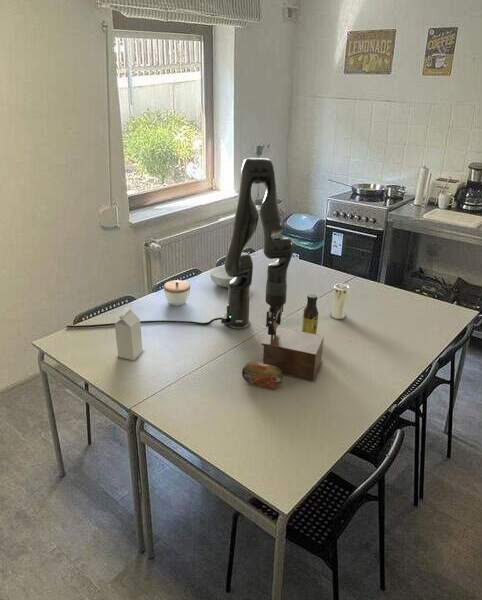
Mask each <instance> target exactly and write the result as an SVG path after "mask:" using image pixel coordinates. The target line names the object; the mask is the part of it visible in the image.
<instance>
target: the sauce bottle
mask: <svg viewBox="0 0 482 600" xmlns="http://www.w3.org/2000/svg"><path fill="white" fill-rule="evenodd" d="M306 299H307V303H306V306H305V307H304V309H303V314H302V315H303V316H302V324H301V332H305V333H311V334H316V335H318V334H317V332H318V323H319V311H318V307H317V301H318V295H317V294H315V293H309V294H307V296H306Z"/></svg>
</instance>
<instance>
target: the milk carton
mask: <svg viewBox="0 0 482 600" xmlns="http://www.w3.org/2000/svg"><path fill="white" fill-rule="evenodd" d="M118 318H119V320H117V321H116V322H114V323H115V325H114V330H115V331H114V332H115V341H116V349H117V357H118V358H121V359H125V360H131V361H135V360H136V359H137V358H138V357H139V356H140V355H141V354H142V352H143V341H142V327H141V323H140V321H141V319H140V317H138V315H137V314H136V313H134V311H132V308H129V309H128V310H127V311H126V312H125V313H121V314H120V315H119V316H118Z"/></svg>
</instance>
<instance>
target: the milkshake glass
mask: <svg viewBox="0 0 482 600" xmlns="http://www.w3.org/2000/svg"><path fill="white" fill-rule="evenodd" d="M349 296H350V286H349V285H347V284H345V283H336V284H335V285H333V291H332V311H331V317H332V318H333V319H337V320H343V319H345V317H346V312H345V311H346V306H347V304H348V300H349Z"/></svg>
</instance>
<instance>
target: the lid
mask: <svg viewBox="0 0 482 600" xmlns="http://www.w3.org/2000/svg"><path fill="white" fill-rule="evenodd" d="M323 338H324V339H325V336H324V335H321V334H311V333H305V332H302V331H301V330H295V329H289V328H286V327H285V328H284V327H280V326H279V325H278V323H276V322H275V327H274V335H269V334H268V333H267V334H266V336H265V337H264V339H263V340H262V342H261V346H263V347H264V346H269V347H274V348H279V349H283V350H288V351H293V352H298V353H302V354H307V355H312V356H316V354H317V352H318V350H319V347H320V345H321V343H322V341H323V342H324V340H323Z"/></svg>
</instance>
